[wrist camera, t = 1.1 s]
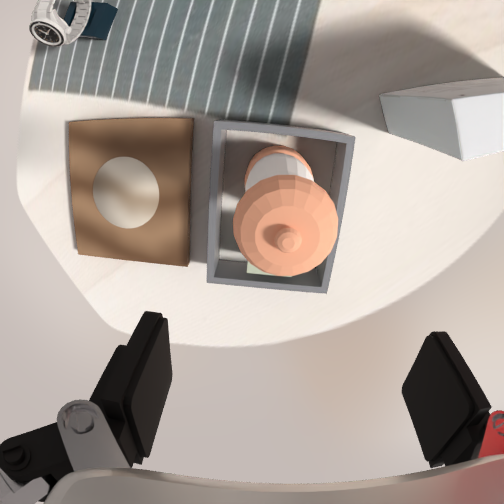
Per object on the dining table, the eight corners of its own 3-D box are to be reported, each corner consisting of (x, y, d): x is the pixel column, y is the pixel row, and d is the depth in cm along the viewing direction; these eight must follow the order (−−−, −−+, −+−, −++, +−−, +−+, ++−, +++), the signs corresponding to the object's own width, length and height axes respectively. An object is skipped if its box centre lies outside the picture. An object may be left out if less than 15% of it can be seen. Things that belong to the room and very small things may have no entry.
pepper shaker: (278, 219, 39) (286, 315, 21) (232, 177, 37) (201, 244, 19) (322, 176, 36) (372, 243, 19) (277, 132, 34) (289, 155, 17)
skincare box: (388, 139, 34) (460, 163, 19) (376, 94, 32) (446, 90, 17) (512, 114, 30) (594, 133, 16) (505, 77, 28) (588, 82, 14)
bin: (220, 119, 34) (213, 120, 30) (345, 133, 34) (355, 136, 30) (212, 264, 41) (206, 282, 37) (321, 275, 41) (326, 293, 37)
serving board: (73, 121, 34) (68, 122, 33) (193, 118, 34) (191, 118, 33) (82, 250, 42) (78, 254, 40) (189, 262, 42) (187, 267, 40)
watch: (67, 50, 30) (12, 42, 20) (88, -5, 27) (39, -27, 17) (101, 54, 30) (49, 44, 20) (123, -3, 27) (79, -31, 17)
